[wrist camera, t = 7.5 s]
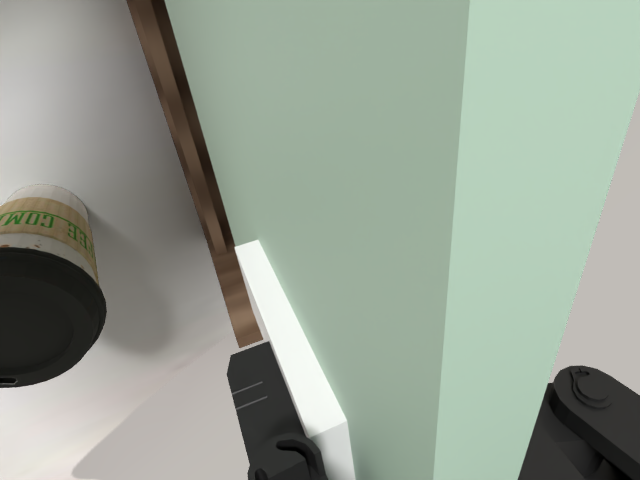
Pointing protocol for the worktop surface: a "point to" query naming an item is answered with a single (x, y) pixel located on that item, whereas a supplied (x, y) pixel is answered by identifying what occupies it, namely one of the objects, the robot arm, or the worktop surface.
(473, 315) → the sheet
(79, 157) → the worktop surface
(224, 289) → the rack
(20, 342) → the coffee cup
